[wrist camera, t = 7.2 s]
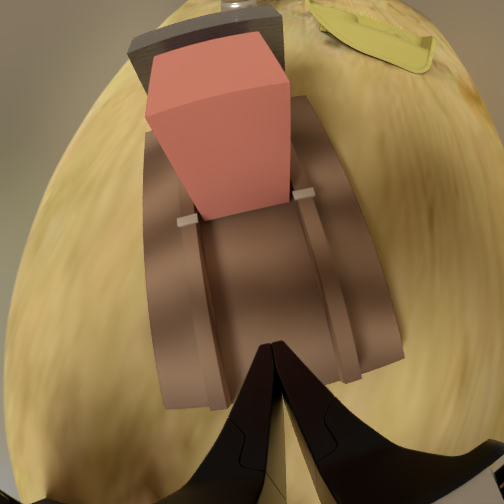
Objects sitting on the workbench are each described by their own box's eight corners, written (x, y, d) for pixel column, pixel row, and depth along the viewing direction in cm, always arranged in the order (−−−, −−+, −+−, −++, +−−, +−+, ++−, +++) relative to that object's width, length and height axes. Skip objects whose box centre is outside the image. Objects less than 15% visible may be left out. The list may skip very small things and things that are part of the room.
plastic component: (422, 38, 27) (439, 37, 20) (413, 72, 32) (427, 79, 26) (310, 2, 29) (300, -8, 23) (303, 37, 35) (292, 34, 28)
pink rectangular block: (289, 202, 19) (290, 82, 9) (204, 221, 19) (144, 117, 9) (269, 140, 21) (258, 31, 11) (196, 157, 21) (153, 56, 11)
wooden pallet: (396, 357, 16) (416, 358, 13) (173, 405, 16) (154, 414, 13) (305, 106, 24) (306, 82, 21) (151, 142, 25) (139, 121, 22)
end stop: (286, 122, 22) (282, 16, 12) (174, 149, 22) (126, 53, 12) (277, 103, 23) (270, 4, 13) (174, 127, 23) (133, 38, 13)
